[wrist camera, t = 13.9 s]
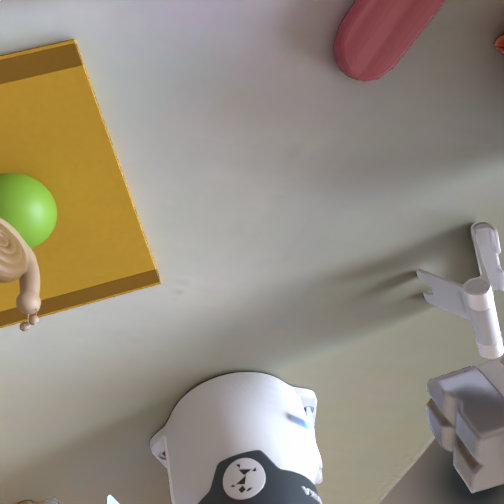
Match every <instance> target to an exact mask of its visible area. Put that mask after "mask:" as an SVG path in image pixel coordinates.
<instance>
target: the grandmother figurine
mask: <svg viewBox="0 0 504 504" xmlns="http://www.w3.org/2000/svg"><path fill="white" fill-rule="evenodd" d="M32 503H34V502H32V501H23V502H21V503H19V504H32Z"/></svg>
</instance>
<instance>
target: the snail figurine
mask: <svg viewBox="0 0 504 504" xmlns="http://www.w3.org/2000/svg"><path fill="white" fill-rule="evenodd" d="M56 220H57V208H56V204H55V201H54V198H53V196H52V195H51V193H50V192H49V190H48V189H47V188H46V187H45V186H44V185H43V184H42V183H41V182H39V181H38V180H36V179H34V178H32V177H30V176H27V175H24V174H19V173H3V174H0V283H10V282H13V281H15V280H17V279H18V278H19V285H20V294H19V295H18V297H17V299H16V305H17V308H18V309H19V311H21V312H22V313H24V314H27V321H26V322H22V323H21V324H20V329H21V330H22V331H26V330H28V329H29V328H30V324H31V325H35V324H37V323H38V321H39V318H38V317H37V312H38V311H39V309H40V305H41V300H40V297H39V292H40V273H39V267H38V263H37V260H36V257H35V255H34V253H33V251H32V249H33V248H35V247H37V246H38V245H40V244H41V243H43V242H44V241H45V240H46V239H47V238H48V237H49V236H50V234H51V233H52V231H53V229H54V227H55V224H56ZM34 313H36V314H35V315H34V316H31V317H30V318H29V315H30V314H34ZM28 318H29V323H30V324H29V323H28Z"/></svg>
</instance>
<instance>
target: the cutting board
mask: <svg viewBox="0 0 504 504" xmlns="http://www.w3.org/2000/svg"><path fill="white" fill-rule="evenodd" d="M3 173H19V174H24V175H27V176H30V177H32V178H34V179H36V180H38V181H39V182H41V183H42V184H43V185H44V186H45V187H46V188H47V189H48V190H49V192H50V193H51V195H52V196H53V198H54V201H55V204H56V208H57V220H56V224H55V227H54V229H53V231H52V233H51V234H50V236H49V237H48V238H47V239H46V240H45V241H44V242H43V243H41V244H40V245H38V246H37V247H35V248H33V249H32V251H33V253H34V255H35V257H36V260H37V263H38V267H39V273H40V292H39V297H40V300H41V305H40V309H39V311H38V312H37V317H38V318H39V317H42V316H46V315H50V314H53V313H57V312H60V311H64V310H68V309H71V308H75V307H78V306H82V305H86V304H89V303H93V302H96V301H100V300H104V299H107V298H111V297H115V296H118V295H122V294H125V293H129V292H133V291H136V290H140V289H143V288H147V287H151V286H154V285H158V284H161V280H160V278H159V275H158V272H157V269H156V266H155V264H154V261H153V258H152V255H151V252H150V250H149V247H148V244H147V241H146V238H145V235H144V233H143V230H142V227H141V224H140V221H139V219H138V216H137V213H136V210H135V207H134V204H133V202H132V199H131V196H130V193H129V190H128V188H127V185H126V182H125V179H124V176H123V174H122V171H121V168H120V165H119V162H118V159H117V157H116V154H115V151H114V148H113V145H112V143H111V140H110V137H109V134H108V131H107V128H106V126H105V123H104V120H103V117H102V114H101V112H100V109H99V106H98V103H97V100H96V97H95V95H94V92H93V89H92V86H91V83H90V81H89V78H88V75H87V72H86V69H85V67H84V64H83V61H82V58H81V55H80V52H79V50H78V47H77V44H76V41H75V39H72V40H68V41H64V42H59V43H55V44H50V45H46V46H42V47H37V48H33V49H28V50H24V51H19V52H15V53H11V54H6V55H2V56H0V174H3ZM19 294H20V285H19V278H18V279H17V280H15V281H13V282H10V283H0V328H3V327H6V326H10V325H14V324H17V323H21V322H24V321H27V314H24V313H22V312H21V311H19V309H18V308H17V305H16V299H17V297H18V295H19ZM35 314H36V313H34V314H30V315H29V318H30V317H31V316H34V315H35ZM29 318H28V320H29Z"/></svg>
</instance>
